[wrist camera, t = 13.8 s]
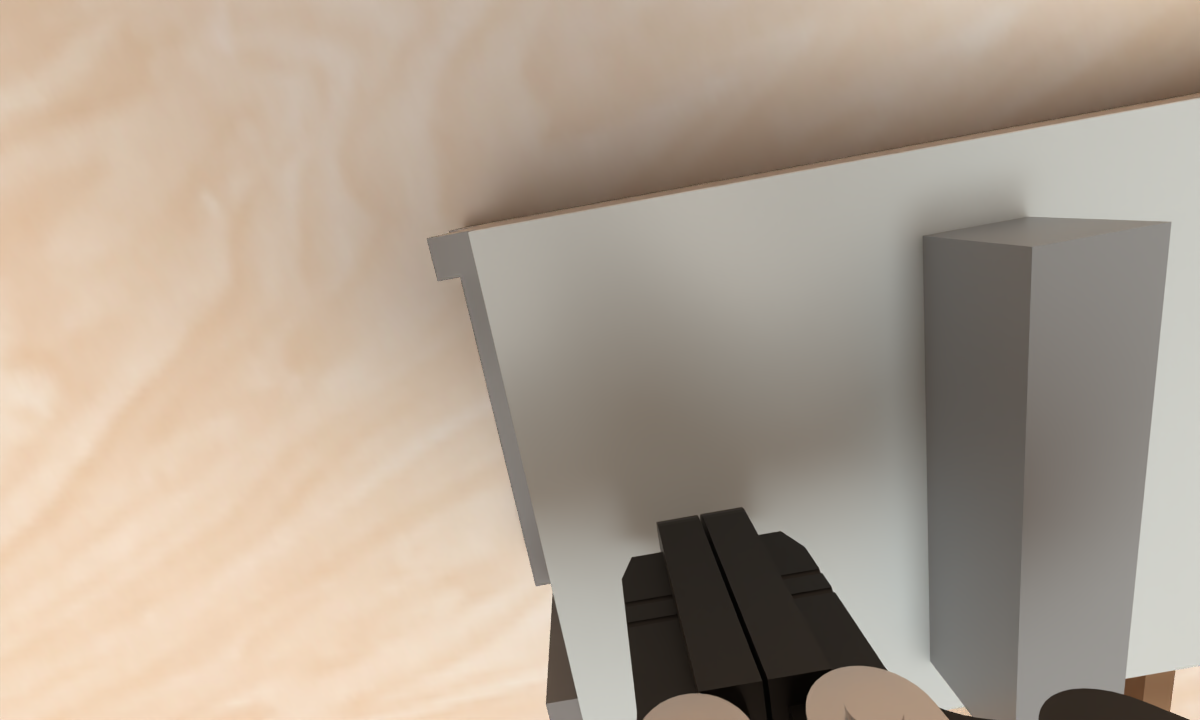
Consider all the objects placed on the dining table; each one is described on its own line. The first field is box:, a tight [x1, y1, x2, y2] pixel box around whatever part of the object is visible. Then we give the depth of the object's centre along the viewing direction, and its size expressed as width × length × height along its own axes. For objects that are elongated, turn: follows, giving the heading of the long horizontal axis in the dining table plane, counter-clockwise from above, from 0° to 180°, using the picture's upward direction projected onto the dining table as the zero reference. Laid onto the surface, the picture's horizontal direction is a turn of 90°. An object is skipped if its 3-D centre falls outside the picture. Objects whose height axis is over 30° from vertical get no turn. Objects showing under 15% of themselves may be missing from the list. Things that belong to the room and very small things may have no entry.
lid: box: [468, 97, 1200, 720], centre depth 10 cm, size 12×17×3 cm
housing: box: [427, 93, 1200, 720], centre depth 15 cm, size 12×35×8 cm, turn 100°
